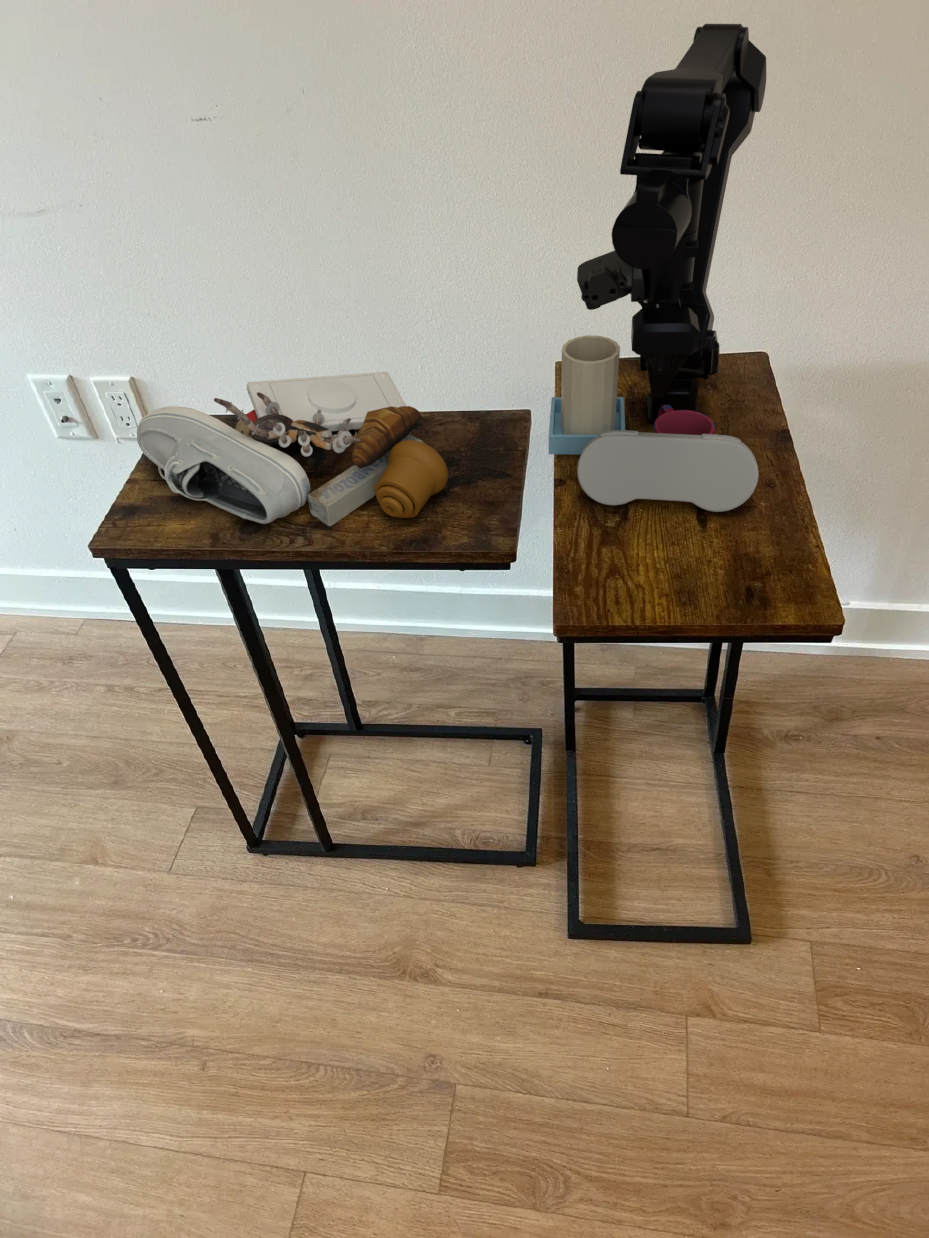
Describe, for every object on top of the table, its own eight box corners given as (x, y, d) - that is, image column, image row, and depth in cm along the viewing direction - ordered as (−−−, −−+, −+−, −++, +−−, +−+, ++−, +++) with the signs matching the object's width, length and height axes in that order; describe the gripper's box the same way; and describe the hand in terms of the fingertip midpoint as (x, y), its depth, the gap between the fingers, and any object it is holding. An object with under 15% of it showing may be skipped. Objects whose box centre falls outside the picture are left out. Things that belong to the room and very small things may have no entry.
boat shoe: (156, 445, 113) (105, 474, 107) (150, 383, 107) (96, 410, 101) (313, 527, 107) (268, 563, 101) (316, 467, 101) (268, 501, 95)
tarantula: (394, 427, 110) (385, 465, 112) (266, 388, 112) (259, 427, 114) (350, 441, 95) (341, 485, 97) (203, 396, 97) (197, 440, 99)
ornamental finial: (384, 435, 102) (436, 436, 98) (410, 483, 107) (460, 486, 103) (349, 483, 98) (402, 486, 94) (378, 530, 104) (429, 535, 99)
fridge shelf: (551, 414, 115) (551, 397, 114) (622, 414, 114) (624, 396, 113) (548, 454, 109) (548, 436, 107) (624, 455, 108) (625, 436, 106)
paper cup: (605, 412, 114) (609, 331, 106) (622, 439, 109) (627, 357, 102) (555, 420, 113) (555, 340, 106) (570, 448, 109) (571, 366, 101)
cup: (656, 495, 102) (662, 444, 97) (637, 447, 109) (641, 398, 104) (714, 489, 102) (722, 438, 97) (691, 441, 109) (698, 392, 104)
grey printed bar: (295, 488, 101) (325, 507, 99) (395, 424, 109) (424, 440, 107) (300, 512, 104) (329, 531, 101) (397, 448, 112) (426, 464, 109)
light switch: (246, 375, 114) (388, 364, 121) (246, 388, 115) (387, 377, 122) (265, 424, 108) (414, 410, 115) (265, 438, 109) (412, 423, 116)
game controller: (751, 508, 99) (762, 434, 95) (753, 514, 97) (764, 440, 93) (577, 497, 102) (580, 426, 99) (575, 503, 100) (579, 431, 97)
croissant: (405, 436, 111) (380, 403, 110) (439, 409, 106) (413, 375, 105) (347, 485, 101) (319, 450, 100) (382, 458, 97) (352, 421, 96)
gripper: (584, 195, 92) (580, 334, 103) (581, 269, 79) (577, 420, 90) (693, 191, 91) (677, 333, 102) (709, 266, 78) (689, 420, 89)
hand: (654, 374), depth 96 cm, fingers open, 9 cm apart
